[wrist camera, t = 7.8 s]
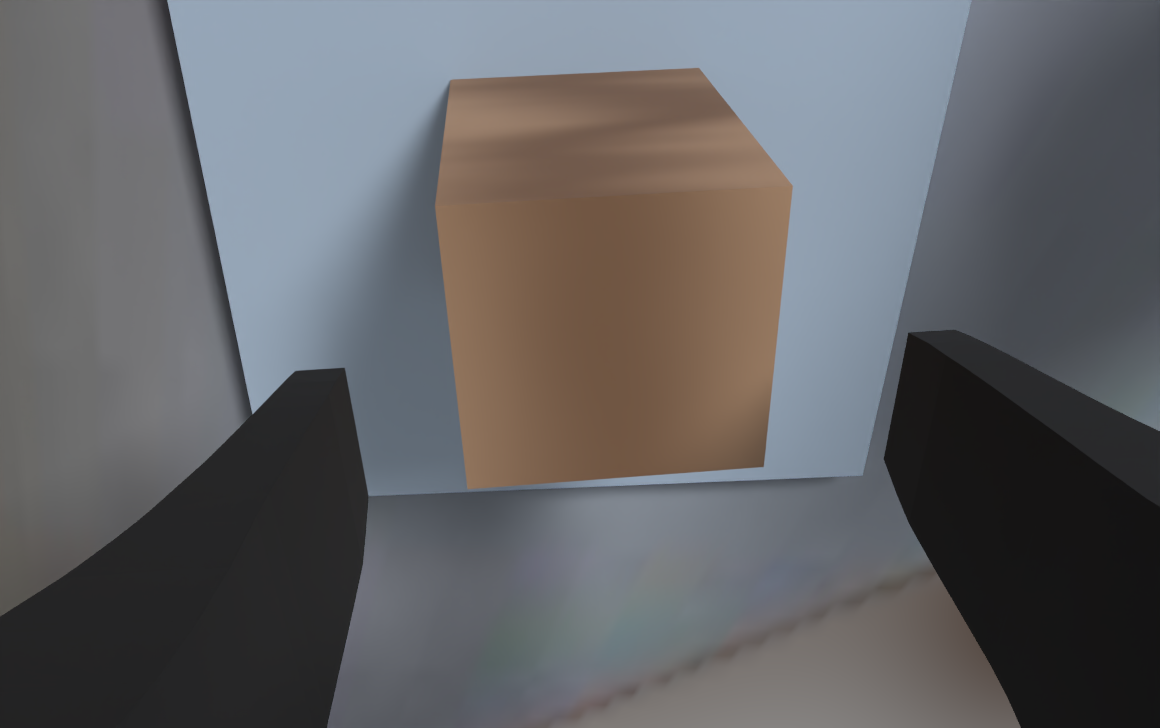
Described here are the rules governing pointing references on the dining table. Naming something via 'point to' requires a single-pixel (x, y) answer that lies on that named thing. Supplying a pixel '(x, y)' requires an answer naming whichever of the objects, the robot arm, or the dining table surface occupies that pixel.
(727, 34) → the slate mat
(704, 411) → the walnut block
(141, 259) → the dining table surface
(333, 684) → the robot arm
